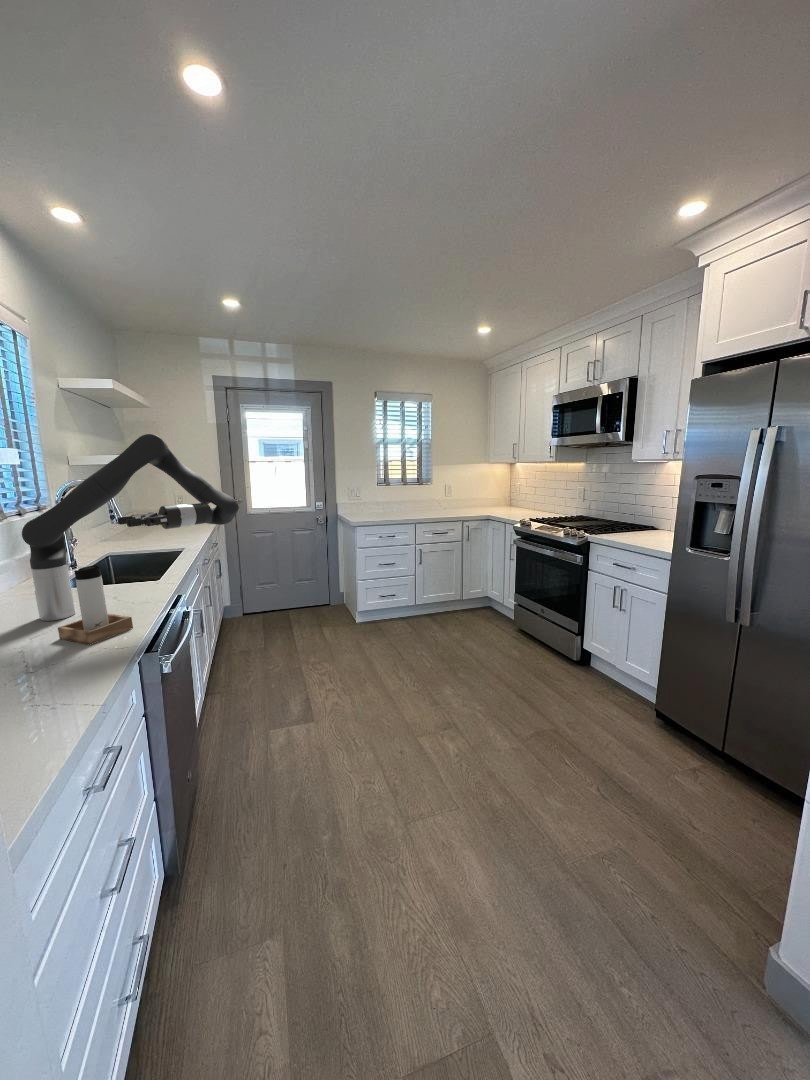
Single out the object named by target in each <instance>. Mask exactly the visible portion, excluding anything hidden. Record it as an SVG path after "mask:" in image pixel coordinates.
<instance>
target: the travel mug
mask: <svg viewBox="0 0 810 1080" xmlns="http://www.w3.org/2000/svg"><path fill="white" fill-rule="evenodd" d="M101 568H102V565H101V564H95V565H93V564H92V565H88V566H84V567H80V568H78V569H77V570H76V569H75V570H74V577H75V578H74V579H75V585H76V590H77V598H78V602H79V603H78V604H79V608H80V609H79V610H80V615H81V620H82V622H83V628H84V630H85V631H91V630H94V629H97V628H99V627H102V626H105V625H108V624H109V620H108V614H109V613H108V609H107V604H106V603H107V602H106V595H105V589H104V583H103V578H102V577H103V576H102V573H101V572H102V570H101ZM107 613H108V614H107Z"/></svg>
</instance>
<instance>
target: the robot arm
mask: <svg viewBox="0 0 810 1080" xmlns="http://www.w3.org/2000/svg"><path fill="white" fill-rule="evenodd" d="M148 464H150V465H152V466H153V467H155V468H157V469H158V470H161V471H162V472H163V473H165V474H166V475H167V476H169V477H170V478H171V479H173V480H174V481H175V482H176V483H178V485H180V486H181V488H182V489H184V491H186V492H187V493H188V494H189V495H190V496H192V497H193V499H195V500H197V501H198V502H199V503H179V504H170V505H161V506H160V507H159V509H158V512H154V511H153V512H152V511H150V512H142V513H137V514H131V515H130V516H129V515H128V516H120V517H117V521H116V522H117V524H118V525H126V526H127V527H128V528H132V527H152V526H153V527H154V526H159V525H160V526H161V527H162V528H163V529H165V530H169V529H177V528H178V529H179V528H185V527H190V526H193V525H196V526H197V525H202V524H209V525H219V526H221V525H228V524H230V523H231V522H232V521H233V520H234V518H235V517H236V515H237V513H238V511H239V508H240V507H239V503H238V502H237V500H236V499H235V498H234V497H232V496H231V495H229V494H228V493H224V492H223V491H221V490H219V489H217V488H215V487H213V485H212V484H210V483H209V482H208V481H207V480H205V479H204V478H203V477H202V476H200V475H199V474H197V473H196V472H194V470H192V469H190V468H189V467H187V466H186V465H185V464H184V463H183V462H181V460H179V458H177V456H175V454H174V453H173V452H172V450H170V448H169V446H168V445H167V443H166V442H165V441H164V440H163V438H161V437H160V436H159V435H157V434H155V433H146V434H145V433H144V434H142V435H141V436H139V437H138V438H136V439H135V440H134V441H133V442H132V443H131V444H130V445H129V446H128V447H126V449H124V451H122V452H121V453H120V454H119V455H118V456H116V457H115V458H114V459H112V460H111V461H109V462H107V463H106V464H105V465H104V466H102V467H101V468H99V469H98V470H97V471H95V472H94V473H93V474H91V475H89V476H88V477H87V478H86V479H84V480H83V481H82V482H80V483H79V484H78V485H77V486H76V487H74V488H73V489H72V490H71V491H70V492H69V493H68V494H67V495H66V496H64V497H63V499H61V500H59V502H58V503H57V504H56V505H54V506H53V507H51V508H49V509H48V510H46V511H45V512H43V513H42V514H40V515H38V516H36V517H35V518H33V519H30V520H29V521H27V522H26V523H25V524H24V526H23V528H22V529H21V538H22V540H23V542H25V544H27V545H28V546H29V548H30V558H29V565H30V569H31V576H32V579H33V587H34V595H35V600H36V607H37V611H38V617H39V618H40V621H42V622H43V621H45V622H49V621H57V620H58V621H59V620H63V619H66V618H69V617H72V616H74V615H75V614H76V609H75V603H74V596H73V591H72V586H71V580H70V573H69V568H68V563H67V561H68V560H67V546H66V540H65V539H66V538H65V533H66V531H67V530H68V529H70V528H71V527H72V526H73V525H75V524H76V523H78V522H79V521H80V520H81V519H84V518H85V517H86V516H88V515H90V514H92V513H93V512H95V511H96V510H98V509H100V508H102V507H103V506H104V505H106V504H107V503H108V502H109V501H111V500H112V499H113V498H115V497H116V496H118V494H120V492H121V491H122V490H123V489H124V488H125V486H126V485H127V484H128V483H129V481H130V479H131V478H132V477H133V476H134V475H135V474H136V472H138V471H139V470H141V469H142V468H143V467H145V466H146V465H148ZM209 504H213V505H214V506H215V507H213V508H212V507H211V506H210V505H209Z"/></svg>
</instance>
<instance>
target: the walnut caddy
mask: <svg viewBox="0 0 810 1080" xmlns="http://www.w3.org/2000/svg"><path fill="white" fill-rule="evenodd" d="M107 614H108V620H109V624H108V625H105V626H102V627H99V628H97V629H94V630H91V631H85V630H84V628H83V622H82V619H79V620H76V621H73V622H71V623H67V624H65V625H62V626H58V627H57V631H58V637H59V640H63V641H69V642H73V643H78V642H79V644H83V643H84V645H88V644H89V645H90V644H91V645H93V644H95V642H96V643H98V642H101V641H103V639H104V640H106V639H109V638H111V637H114V636H116V635H119V634H122V633H124V632H126V631H129V630H132V629H133V628H134V625H133V618H132V616H126V615H121V614H120V615H119V614H115V613H108V612H107ZM131 628H132V629H131ZM118 633H119V634H118ZM113 635H114V636H113ZM108 637H109V638H108ZM100 640H101V641H100ZM97 641H98V642H97ZM92 643H93V644H92ZM89 645H88V646H89Z"/></svg>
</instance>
